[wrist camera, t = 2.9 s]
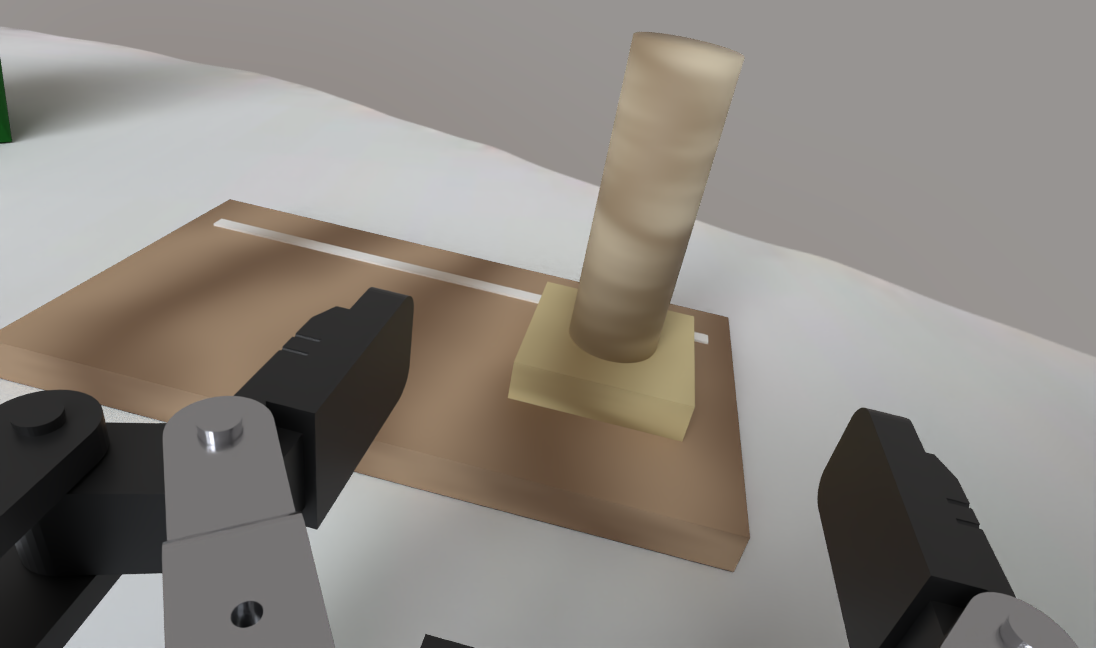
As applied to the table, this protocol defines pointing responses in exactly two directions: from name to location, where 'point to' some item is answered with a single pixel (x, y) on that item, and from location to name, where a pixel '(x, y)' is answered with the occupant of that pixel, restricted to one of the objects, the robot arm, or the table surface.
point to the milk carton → (3, 113)
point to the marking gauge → (636, 250)
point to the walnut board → (433, 380)
